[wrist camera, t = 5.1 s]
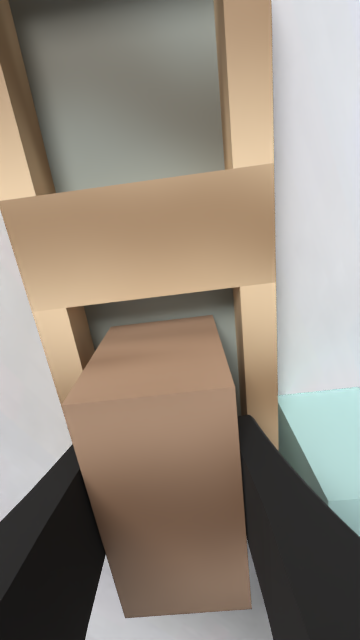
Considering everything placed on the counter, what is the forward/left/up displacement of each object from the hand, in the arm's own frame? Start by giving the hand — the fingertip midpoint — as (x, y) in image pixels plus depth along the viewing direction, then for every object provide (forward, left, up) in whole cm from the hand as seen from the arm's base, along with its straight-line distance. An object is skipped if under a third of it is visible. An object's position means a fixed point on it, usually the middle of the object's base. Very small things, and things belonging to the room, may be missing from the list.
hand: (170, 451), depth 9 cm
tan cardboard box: (0, 0, -3) cm, 3 cm away
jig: (+3, +2, -4) cm, 6 cm away
